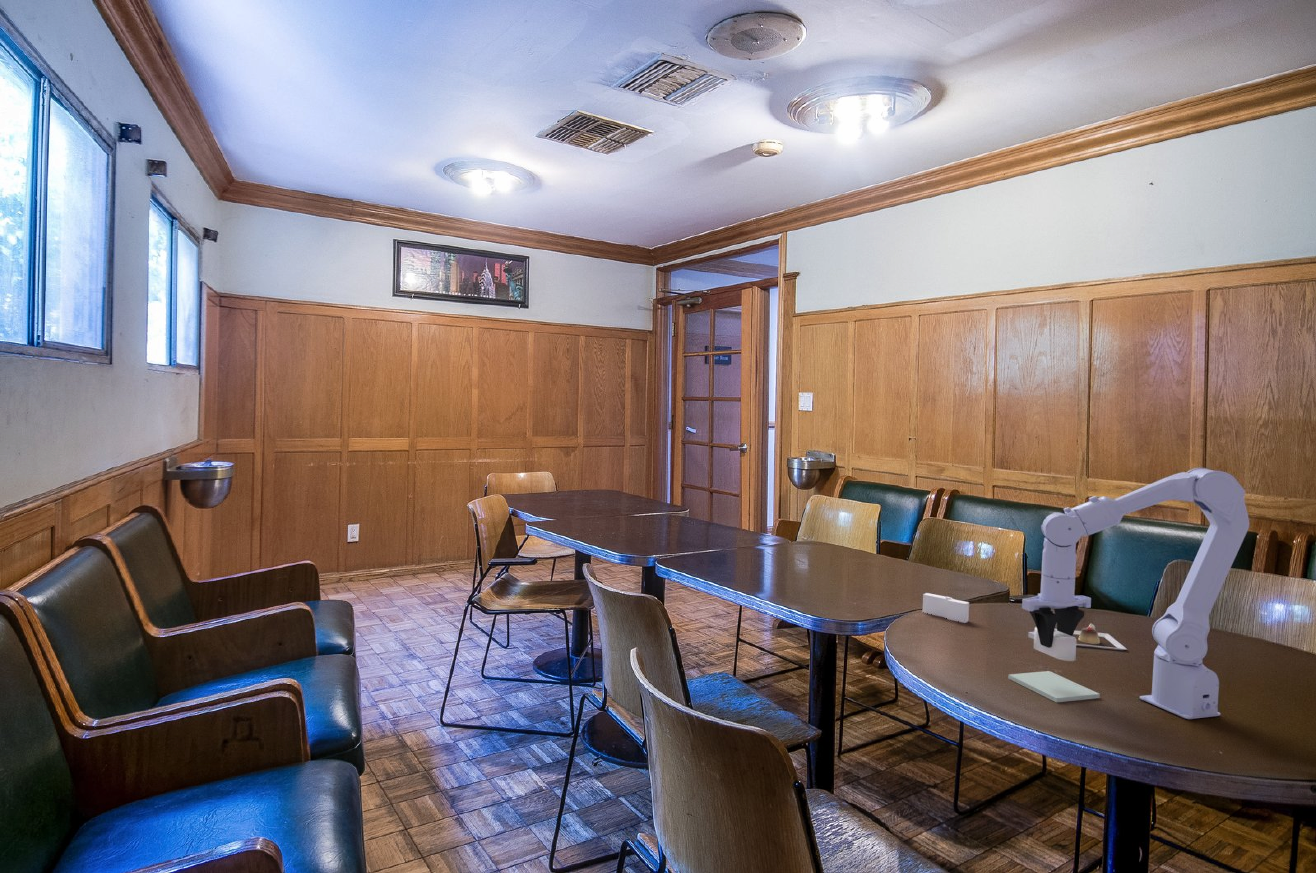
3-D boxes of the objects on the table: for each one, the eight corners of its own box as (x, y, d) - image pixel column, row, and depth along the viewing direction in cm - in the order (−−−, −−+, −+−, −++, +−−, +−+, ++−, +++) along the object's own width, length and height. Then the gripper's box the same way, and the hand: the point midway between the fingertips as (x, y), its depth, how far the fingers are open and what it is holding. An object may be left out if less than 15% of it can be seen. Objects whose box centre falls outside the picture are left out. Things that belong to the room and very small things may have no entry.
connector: (1079, 660, 136) (1081, 639, 136) (1064, 661, 135) (1065, 640, 135) (1038, 643, 146) (1039, 623, 145) (1024, 644, 145) (1025, 624, 145)
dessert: (1068, 648, 166) (1070, 627, 166) (1053, 632, 178) (1054, 613, 178) (1127, 654, 163) (1128, 633, 163) (1107, 638, 175) (1108, 618, 175)
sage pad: (1099, 697, 135) (1099, 693, 135) (1056, 702, 133) (1056, 698, 133) (1049, 674, 147) (1049, 670, 147) (1008, 678, 144) (1008, 674, 144)
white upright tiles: (910, 611, 194) (911, 590, 193) (949, 610, 195) (950, 589, 195) (941, 628, 179) (941, 605, 179) (982, 627, 181) (983, 604, 180)
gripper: (1071, 569, 145) (1068, 636, 145) (1011, 572, 141) (1008, 640, 141) (1101, 578, 138) (1097, 647, 139) (1039, 580, 134) (1036, 652, 135)
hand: (1054, 645), depth 140 cm, fingers closed on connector, 4 cm apart
